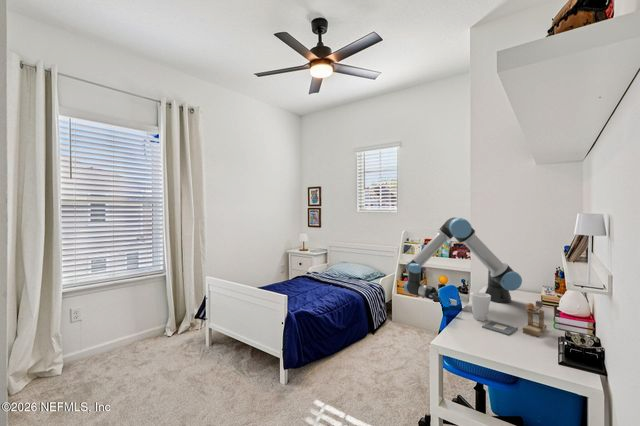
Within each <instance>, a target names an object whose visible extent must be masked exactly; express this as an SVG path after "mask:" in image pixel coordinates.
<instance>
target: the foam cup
mask: <svg viewBox="0 0 640 426" xmlns="http://www.w3.org/2000/svg"><path fill="white" fill-rule="evenodd" d="M470 298H471V309H472V317H473V319H474V320H476V319H477V320H476V321H487V319H488V315H489V309H490V304H491V301H490V300H491V295H489V294H486V293H485V292H479V291H472V292H470Z"/></svg>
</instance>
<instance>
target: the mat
mask: <svg viewBox="0 0 640 426" xmlns="http://www.w3.org/2000/svg"><path fill="white" fill-rule="evenodd" d="M482 328H484V329H487V330H489V331H493V332H496V333H500V334H501V335H502V334H503V335H506V336H510V335H512V334H514V333H515V332H516V331H518V329H519V328H518V327H516V326H513V325H512V326H511V325H509V324H505V323H502V322H498V321H495V320H490V321H488V322H487V323H485V324H483V325H482Z"/></svg>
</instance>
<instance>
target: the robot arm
mask: <svg viewBox="0 0 640 426" xmlns="http://www.w3.org/2000/svg"><path fill="white" fill-rule="evenodd" d="M453 238H454V239H455V240H456V241H457V242H459V244H463V245H465V247H466V248H467V249H468V250H469V251H470V252H471V253H472V254H473V255H474V256H475V257H476V258H477V259H478V260H479V261H480V262H481V263H482V265H483V266H484V267H485V268H486V269H487V270H488V271H487V272H488V273H487V287H486V290H485V292H484V293H486V294H489V295H491V300H490V302H495V303H504V304H508V303H512V295H511V293H510V292H513V291H516V290H518V289H519V288H520V287H521V286H522V283H523V278H522V276H521V275H520V274H519V273H518V272H516V271H514V270H513V269H512V267H510V266H509V265H508V263H506V262H505V263H504V262H502V261H501V260H500V259H499V258H498V257H497V256H496V254H495V253H493V251H491V249H489V248H488V246H487V245H486V244H485V243H484V242H483V241H482V240H481V239H480V238H479V237H478V236H477V235H476V230H475V229H474V228H473V227H472V224H471V223H470V221H468V220H467V219H465V218H461V217H450V218H449V219H447V220H446V221H445V222H444V224H442V225H441V227H439V229H438V232H437V233H436V234H435V235H434V237H432V239H430V241H428V243H427V244H426V245H425V246H423V248H422V249H421V250H420V251H419V253H417V255H415V257H414V258H413V259H411V261H410V262H407V264H405V272H406V273H407V274H408V276H407V277H408V278H407V281H405V282H404V285H403V290H404V292H405V293H407V294H410V295H413V296H418V297H420V298H421V297H422V299H424V298H425V299H429V300H432V301H436V302H437V303H440V304H442V302H440V300H439V299H440V298H439V297H438V291H439V290H437V289H436V287H434V286H431V285H426V284H421V277H422V275H421V273H422V267H423V266H425V264H426V263H427V262H428V261H429V260H430V259H431V258H432V257H433V256H434V255H435V254H436V253H437V251H439V250H440V248H441V247H443V245H445V243H446V242H447V241H450V240H451V239H453ZM458 294H459V296H460V299H459V300H461V301H465V302H468V301H469V296H468V295H464V294H461V293H458ZM449 299H450V300H449V302H451V304H450V305H453V306H457V305H458V303H457V302H458V301H457V300H458V299H454V298H453V299H452V298H449Z"/></svg>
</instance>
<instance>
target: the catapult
mask: <svg viewBox="0 0 640 426" xmlns="http://www.w3.org/2000/svg"><path fill="white" fill-rule="evenodd" d="M543 306H544V301H542V300H541V301H540V300H536V301H535V305H534V304H533V303H531V302H529V303H527V304H526V308H525V309H524V312H526V314H527V315H528V316H527V325H525V326H523V327H522V333H523V334H525V335H529V336H533V337H536V338H539V337H540V336H541V335H542V334H543V333H545V332H546V331H547V328H548V327H547V326H548V325H547V324H545V323H544V322H545V310H542V309H543ZM534 315H537V316H538V322H536V321H534Z"/></svg>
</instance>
